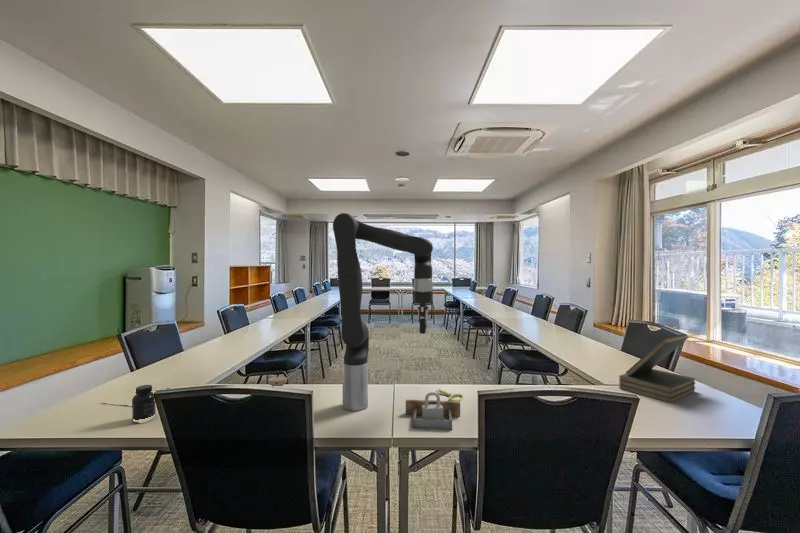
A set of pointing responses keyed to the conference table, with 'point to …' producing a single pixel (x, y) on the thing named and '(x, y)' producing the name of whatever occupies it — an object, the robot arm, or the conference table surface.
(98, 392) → the conference table surface
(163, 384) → the conference table surface
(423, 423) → the grey metal tray
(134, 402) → the supplement bottle
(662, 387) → the dark grey angled piece
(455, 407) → the door strip
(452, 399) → the key
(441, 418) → the padlock
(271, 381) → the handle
